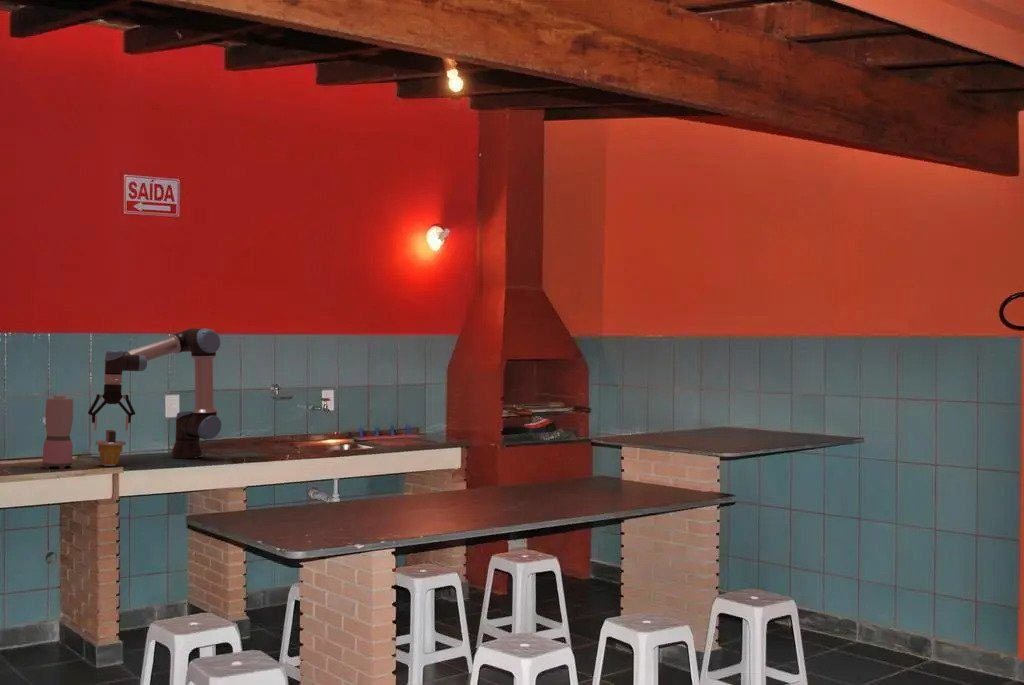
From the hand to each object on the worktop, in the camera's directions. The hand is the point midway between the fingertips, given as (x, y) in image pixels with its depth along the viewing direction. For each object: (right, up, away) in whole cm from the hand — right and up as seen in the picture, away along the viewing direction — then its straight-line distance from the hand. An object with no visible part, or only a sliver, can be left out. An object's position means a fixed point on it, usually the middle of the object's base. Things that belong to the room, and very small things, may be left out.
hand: (111, 430), depth 494 cm
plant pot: (-1, -16, 0) cm, 16 cm away
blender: (-19, -16, -13) cm, 28 cm away
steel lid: (0, -6, 0) cm, 6 cm away
